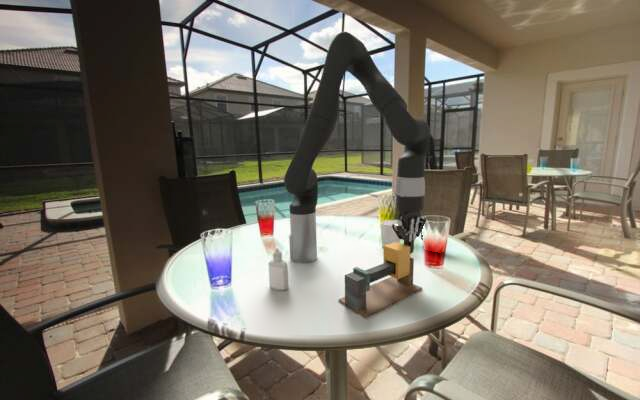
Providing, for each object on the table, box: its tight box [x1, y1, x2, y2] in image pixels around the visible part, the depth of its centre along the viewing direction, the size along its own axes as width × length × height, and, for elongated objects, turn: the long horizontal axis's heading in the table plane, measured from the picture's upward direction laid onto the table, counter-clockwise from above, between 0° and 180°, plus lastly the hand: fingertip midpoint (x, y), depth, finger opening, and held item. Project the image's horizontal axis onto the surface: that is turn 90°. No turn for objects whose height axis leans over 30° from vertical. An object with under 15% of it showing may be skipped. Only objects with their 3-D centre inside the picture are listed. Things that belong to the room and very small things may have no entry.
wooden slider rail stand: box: [338, 257, 423, 319], centre depth 78 cm, size 22×10×9 cm, turn 127°
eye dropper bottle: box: [268, 247, 290, 291], centre depth 84 cm, size 4×6×12 cm
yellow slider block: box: [383, 242, 411, 279], centre depth 81 cm, size 5×5×8 cm
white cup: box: [380, 219, 401, 249], centre depth 115 cm, size 8×8×10 cm
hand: (408, 252), depth 84 cm, fingers closed
